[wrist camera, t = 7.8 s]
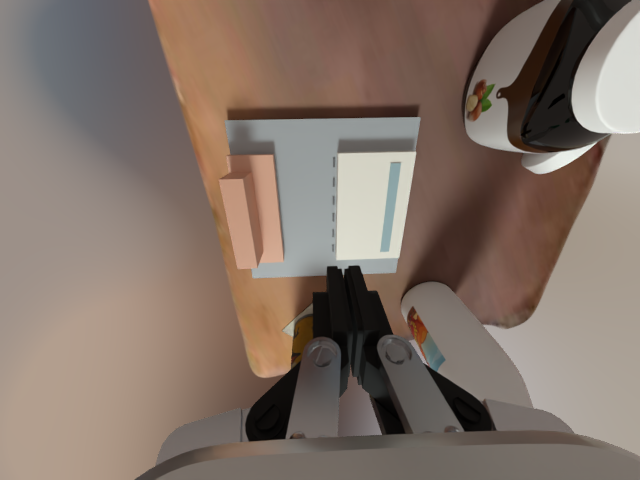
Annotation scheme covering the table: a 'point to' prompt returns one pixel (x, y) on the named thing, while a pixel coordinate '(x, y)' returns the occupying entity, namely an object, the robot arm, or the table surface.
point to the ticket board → (335, 189)
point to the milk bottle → (461, 345)
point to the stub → (253, 209)
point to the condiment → (300, 333)
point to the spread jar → (557, 81)
